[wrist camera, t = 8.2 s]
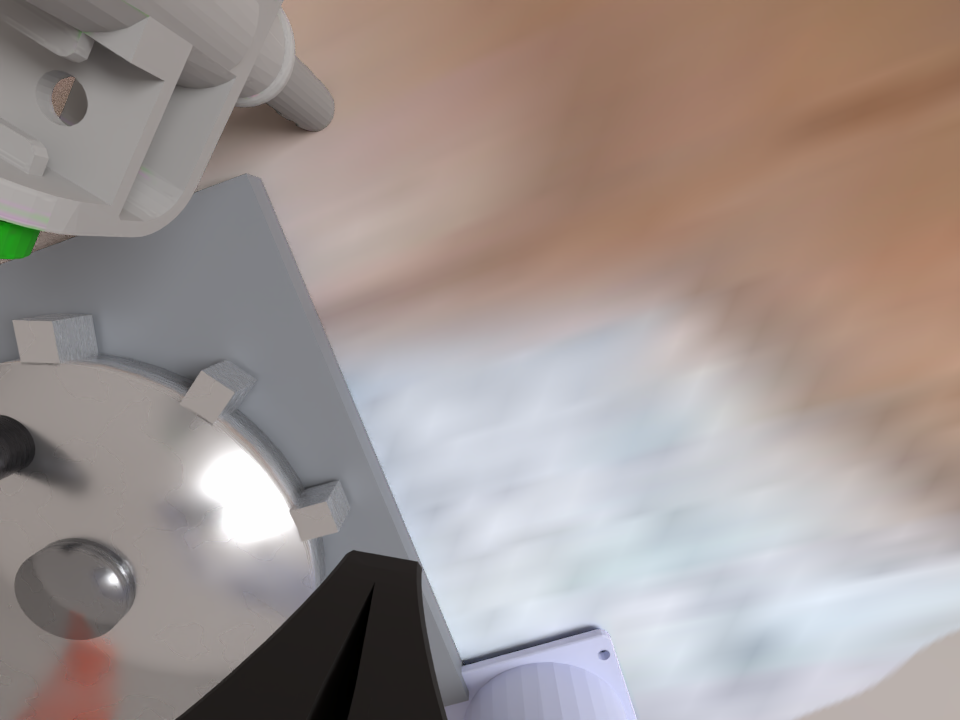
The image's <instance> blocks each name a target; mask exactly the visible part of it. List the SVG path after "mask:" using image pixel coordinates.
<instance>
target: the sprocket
mask: <svg viewBox="0 0 960 720" xmlns="http://www.w3.org/2000/svg"><path fill="white" fill-rule="evenodd" d="M12 321H13V326H14V331H15V336H16V340H17V345H18V350H19V355H20V359H16V360H12V361H8V362H3V363H0V720H175V719H176V718H178V717H179V716H180V715H182V714H183V713H184V712H185V711H186V710H188V709H189V708H190V707H191V706H192V705H194V704H195V703H196V702H197V701H199V700H200V699H201V698H202V697H203V696H204V695H206V694H207V693H208V692H209V691H210V690H211V689H213V688H214V687H215V686H216V685H217V684H218V683H220V682H221V681H222V680H223V679H224V678H225V677H226V676H228V675H229V674H230V673H231V672H232V671H233V670H234V669H235V668H236V667H237V666H238V665H240V664H241V663H242V662H243V661H244V660H245V659H246V658H247V657H248V656H249V655H250V654H252V653H253V652H254V651H255V650H256V649H257V648H258V647H259V646H260V645H261V644H263V643H264V642H265V641H266V640H267V639H268V638H269V637H270V636H271V635H272V634H273V633H274V632H275V631H276V630H277V629H278V628H279V627H280V626H281V625H282V624H283V623H284V622H285V621H286V620H287V619H288V618H289V617H290V616H291V615H292V614H293V613H294V612H295V611H296V610H297V609H298V608H299V607H300V606H301V605H302V604H303V603H304V602H305V601H306V600H307V599H308V598H309V596H310V595H311V594H312V593H313V592H314V591H315V590H316V589H317V588H318V587H319V586H320V584H321V583H322V582H323V581H324V580H325V579H326V566H325V550H324V544H323V539H322V536H325V535H329V534H333V533H336V532H339V530H340V528H341V526H342V524H343V522H344V520H345V518H346V516H347V514H348V512H349V510H350V506H349V503H348V501H347V498H346V496H345V493H344V491H343V488H342V486H341V483H340V480H337V481H333V482H330V483H326V484H322V485H319V486H315V487H311V488H308V489H305V488H304V486H303V484H302V482H301V480H300V478H299V477H298V475H297V474H296V472H295V471H294V469H293V468H292V466H291V465H290V463H289V462H288V460H287V459H286V457H285V456H284V455H283V453H282V452H281V451H280V450H279V449H278V448H277V446H276V445H275V444H274V443H273V442H272V441H271V440H270V438H269V437H268V436H267V435H266V434H265V433H264V432H263V431H262V430H261V429H260V428H259V427H258V426H257V425H255V424H254V423H253V422H252V421H251V420H250V419H249V418H248V417H247V416H246V415H245V414H243V413H242V412H241V411H239V410H238V409H237V408H238V407H239V405H240V404H241V402H242V401H243V399H244V398H245V396H246V395H247V394H248V392H249V391H250V389H251V388H252V386H253V385H254V383H255V382H256V379H255V378H253V377H252V376H250V375H249V374H247V373H246V372H244V371H243V370H242V369H240V368H239V367H237V366H236V365H234V364H233V363H231V362H230V361H228V360H224V361H222V362H220V363H217V364H215V365H213V366H211V367H208V368H206V369H204V370H201V372H200V373H199V375H198V376H197V378H196V379H195V381H192V380H190V379H188V378H186V377H183V376H181V375H179V374H176V373H174V372H171V371H169V370H167V369H164V368H162V367H159V366H156V365H152V364H149V363H145V362H142V361H138V360H135V359H131V358H126V357H120V356H114V355H108V354H102V353H98V348H97V342H96V336H95V330H94V324H93V318H92V315H90V314H50V315H43V316H36V317H30V318H23V319H17V320H12Z"/></svg>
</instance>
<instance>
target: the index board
mask: <svg viewBox="0 0 960 720" xmlns="http://www.w3.org/2000/svg"><path fill="white" fill-rule="evenodd" d="M50 314H90V315H92V318H93V324H94V330H95V336H96V342H97V348H98V353H102V354H108V355H114V356H120V357H126V358H131V359H135V360H138V361H142V362H145V363H149V364H152V365H156V366H159V367H162V368H164V369H167V370H169V371H171V372H174V373H176V374H179V375H181V376H183V377H186V378H188V379H190V380H192V381H195V379H196V378H197V376H198V375H199V373H200V372H201V370H204V369H206V368H208V367H211V366H213V365H215V364H217V363H220V362H222V361H224V360H228V361H230V362H231V363H233V364H234V365H236V366H237V367H239V368H240V369H242V370H243V371H244V372H246V373H247V374H249V375H250V376H252V377H253V378H255V379H256V382H255V383H254V385H253V386H252V388H251V389H250V391H249V392H248V394H247V395H246V396H245V398H244V399H243V401H242V402H241V404H240V405H239V407H238V408H237V409H238V410H239V411H241V412H242V413H243V414H245V415H246V416H247V417H248V418H249V419H250V420H251V421H252V422H253V423H254V424H255V425H257V426H258V427H259V428H260V429H261V430H262V431H263V432H264V433H265V434H266V435H267V436H268V437H269V438H270V440H271V441H272V442H273V443H274V444H275V445H276V446H277V448H278V449H279V450H280V451H281V452H282V453H283V455H284V456H285V457H286V459H287V460H288V462H289V463H290V465H291V466H292V468H293V469H294V471H295V472H296V474H297V475H298V477H299V478H300V480H301V482H302V484H303V486H304V488H305V489H308V488H311V487H315V486H319V485H322V484H326V483H330V482H333V481H337V480H340V483H341V486H342V488H343V491H344V493H345V496H346V498H347V501H348V503H349V506H350V510H349V512H348V514H347V516H346V518H345V520H344V522H343V524H342V526H341V528H340V530H339V532H336V533H333V534H329V535H325V536H322V539H323V544H324V550H325V566H326V578H327V577H328V575H329V574H330V573H331V572H332V571H333V570H334V568H335V567H336V566H337V565H338V563H339V562H340V561H341V560H342V558H343V557H344V556H345V554H347V553H349V552H350V551H352V550H356V551H362V552H367V553H373V554H379V555H384V556H390V557H396V558H401V559H407V560H412V561H418V563H419V564H420V565H421V567H422V564H421V562H420V559H419V557H418V555H417V552H416V550H415V547H414V545H413V543H412V540H411V538H410V535H409V533H408V531H407V528H406V526H405V523H404V521H403V519H402V516H401V514H400V511H399V509H398V507H397V504H396V502H395V499H394V497H393V495H392V492H391V490H390V488H389V485H388V483H387V480H386V478H385V476H384V473H383V471H382V468H381V466H380V464H379V461H378V459H377V456H376V454H375V452H374V449H373V447H372V444H371V442H370V440H369V437H368V435H367V432H366V430H365V428H364V425H363V423H362V420H361V418H360V416H359V413H358V411H357V408H356V406H355V404H354V401H353V399H352V396H351V394H350V392H349V389H348V387H347V384H346V382H345V380H344V377H343V375H342V372H341V370H340V368H339V365H338V363H337V360H336V358H335V356H334V353H333V351H332V348H331V346H330V344H329V341H328V339H327V336H326V334H325V332H324V329H323V327H322V324H321V322H320V320H319V317H318V315H317V312H316V310H315V308H314V305H313V303H312V300H311V298H310V296H309V293H308V291H307V288H306V286H305V284H304V281H303V279H302V276H301V274H300V272H299V269H298V267H297V264H296V262H295V260H294V257H293V255H292V252H291V250H290V248H289V245H288V243H287V240H286V238H285V236H284V233H283V231H282V228H281V226H280V224H279V221H278V219H277V216H276V214H275V212H274V209H273V207H272V204H271V202H270V200H269V197H268V195H267V192H266V190H265V188H264V185H263V183H262V180H261V178H258V177H255V176H252V175H249V174H243V175H241V176H238V177H235V178H233V179H230V180H227V181H224V182H222V183H219V184H216V185H214V186H211V187H208V188H206V189H203V190H200V191H197V192H195V193H194V194H193V195H192V197H191V199H190V201H189V202H188V203H187V205H186V206H185V208H184V209H183V210H182V211H181V212H180V213H179V215H178V216H177V217H176V218H175V219H173V220H172V221H171V222H170V223H169V224H168V225H166V226H165V227H163V228H162V229H160V230H158V231H156V232H154V233H152V234H149V235H146V236H142V237H106V236H76V237H73V238H70V239H68V240H65V241H62V242H60V243H57V244H54V245H52V246H49V247H46V248H43V249H41V250H38V251H35V252H33V253H31V254H30V255H29V256H27V257H25V258H22V259H14V260H11V261H8V262H6V263H3V264H0V363H3V362H8V361H12V360H16V359H20V355H19V350H18V345H17V340H16V336H15V331H14V326H13V321H12V320H17V319H23V318H30V317H36V316H43V315H50ZM422 598H423V607H424V615H425V622H426V628H427V634H428V639H429V644H430V649H431V654H432V659H433V664H434V669H435V673H436V677H437V681H438V686H439V690H440V693H441V697H442V701H443V704H444V707H446V706H449V705H453V704H457V703H461V702H464V701H468V700H469V690H468V688H467V686H466V683H465V681H464V678H463V676H462V673H461V672H462V666H464V665H463V663H462V660H461V658H460V655H459V653H458V651H457V648H456V646H455V643H454V641H453V639H452V636H451V634H450V631H449V629H448V627H447V624H446V622H445V619H444V617H443V615H442V612H441V610H440V607H439V605H438V603H437V600H436V598H435V595H434V593H433V591H432V588H431V586H430V583H429V581H428V579H427V576H426V574H425V571H424V569H423V567H422Z"/></svg>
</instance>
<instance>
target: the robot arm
mask: <svg viewBox="0 0 960 720" xmlns="http://www.w3.org/2000/svg"><path fill="white" fill-rule="evenodd" d="M601 650H606V651H604V652H600V651H601ZM461 673H462V676H463V678H464V681H465V683H466V686H467V688H468V690H469V700H468V701H464V702H461V703H457V704H453V705H449V706H446V707H444V704H443V701H442V697H441V693H440V690H439V686H438V681H437V677H436V673H435V669H434V664H433V659H432V654H431V649H430V644H429V639H428V634H427V628H426V622H425V615H424V607H423V598H422V567H421V565H420V564H419V563H418V561H412V560H407V559H401V558H396V557H390V556H384V555H379V554H373V553H367V552H362V551H356V550H352V551H350V552H349V553H347V554H345V556H344V557H343V558H342V560H341V561H340V562H339V563H338V565H337V566H336V567H335V568H334V570H333V571H332V572H331V573H330V574H329V575H328V577H327V578H326V579H325V580H324V581H323V582H322V583H321V584H320V586H319V587H318V588H317V589H316V590H315V591H314V592H313V593H312V594H311V595H310V596H309V598H308V599H307V600H306V601H305V602H304V603H303V604H302V605H301V606H300V607H299V608H298V609H297V610H296V611H295V612H294V613H293V614H292V615H291V616H290V617H289V618H288V619H287V620H286V621H285V622H284V623H283V624H282V625H281V626H280V627H279V628H278V629H277V630H276V631H275V632H274V633H273V634H272V635H271V636H270V637H269V638H268V639H267V640H266V641H265V642H264V643H263V644H261V645H260V646H259V647H258V648H257V649H256V650H255V651H254V652H253V653H252V654H250V655H249V656H248V657H247V658H246V659H245V660H244V661H243V662H242V663H241V664H240V665H238V666H237V667H236V668H235V669H234V670H233V671H232V672H231V673H230V674H229V675H228V676H226V677H225V678H224V679H223V680H222V681H221V682H220V683H218V684H217V685H216V686H215V687H214V688H213V689H211V690H210V691H209V692H208V693H207V694H206V695H204V696H203V697H202V698H201V699H200V700H199V701H197V702H196V703H195V704H194V705H192V706H191V707H190V708H189V709H188V710H186V711H185V712H184V713H183V714H182V715H180V716H179V717H178V718H176V719H175V720H637V718H636V714H635V711H634V708H633V705H632V702H631V699H630V696H629V693H628V690H627V687H626V683H625V680H624V677H623V674H622V671H621V668H620V665H619V662H618V659H617V655H616V652H615V649H614V646H613V643H612V640H611V637H610V635H609V633H608V632H607V631H605V630H602V629H597V630H592V631H589V632H585V633H581V634H578V635H574V636H571V637H567V638H563V639H560V640H556V641H552V642H549V643H545V644H541V645H538V646H534V647H530V648H527V649H523V650H520V651H516V652H512V653H509V654H505V655H501V656H498V657H494V658H490V659H487V660H483V661H480V662H476V663H472V664H469V665H465V666H462V672H461Z"/></svg>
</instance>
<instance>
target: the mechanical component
mask: <svg viewBox="0 0 960 720" xmlns="http://www.w3.org/2000/svg"><path fill="white" fill-rule="evenodd" d="M282 3H283V0H0V259H22V258H25V257H27V256H29V255H30V254H31V252H32V249H33V247H34V244H35V242H36V240H37V237H38V235H39V233H40V230H41V231H45V232H51V233H57V234H64V235H76V236H106V237H142V236H146V235H149V234H152V233H154V232H156V231H158V230H160V229H162V228H163V227H165V226H166V225H168V224H169V223H170V222H171V221H172V220H173V219H175V218H176V217H177V216H178V215H179V213H180V212H181V211H182V210H183V209H184V208H185V206H186V205H187V203H188V202H189V201H190V199H191V197H192V195H193V194H194V192H195V190H196V188H197V186H198V184H199V181H200V179H201V177H202V175H203V173H204V171H205V168H206V166H207V164H208V162H209V160H210V158H211V155H212V153H213V151H214V149H215V147H216V145H217V143H218V140H219V138H220V136H221V134H222V132H223V130H224V127H225V125H226V123H227V121H228V119H229V117H230V115H231V112H232V110H233V108H234V106H236V107H253V106H258V105H261V104H263V103H267V104H268V105H269V106H271V107H272V108H274V109H275V110H276V112H277V113H278V114H279V115H281V116H282V117H284V118H285V119H287V120H292V121H293V122H295V123H296V126H298V127H301V128H303V129H306V130H309V131H320V130H322V129H324V128H325V127H326V126H327V125H328V124H329V123H330V122H331V120H332V118H333V114H334V100H333V98H332V96H331V94H330V93H329V91H328V90H327V88H326V87H325V86H324V84H323V83H322V82H321V81H320V80H319V79H317V77H316V76H315V75H314V74H313V73H312V72H311V71H310V70H309V68H308V67H307V66H306V65H304V64H303V63H302V62H301V61H300V60H299V59H298V58H297V56H296V55H295V40H294V35H293V31H292V28H291V25H290V22H289V20H288V18H287V16H286V14H285V13H284V11H283V9H282V7H281V5H282ZM70 76H71V77H75V81H74V83H73V86H72V88H71V91H70V94H69V96H68V99H67V101H66V104H65V106H64V109H63V112H62V114H61V115H60V117H58V116H57V115H56V114H55V111H54V108H53V105H52V92H53V88H54V87H55V85H56V83H58V82H59V81H60V80H61V79H64V78H67V77H70Z"/></svg>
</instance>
